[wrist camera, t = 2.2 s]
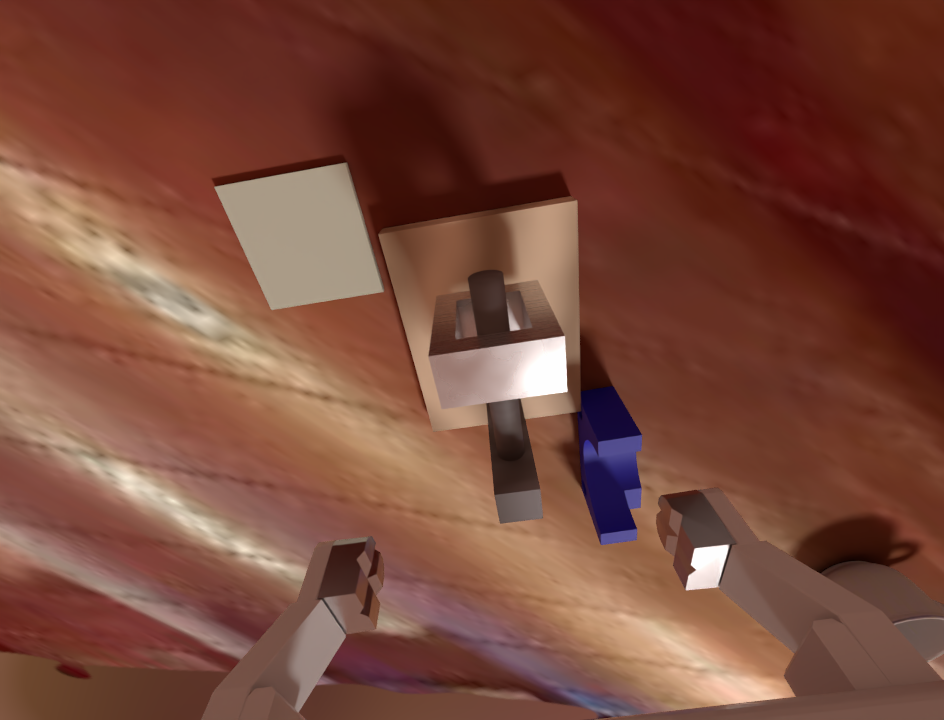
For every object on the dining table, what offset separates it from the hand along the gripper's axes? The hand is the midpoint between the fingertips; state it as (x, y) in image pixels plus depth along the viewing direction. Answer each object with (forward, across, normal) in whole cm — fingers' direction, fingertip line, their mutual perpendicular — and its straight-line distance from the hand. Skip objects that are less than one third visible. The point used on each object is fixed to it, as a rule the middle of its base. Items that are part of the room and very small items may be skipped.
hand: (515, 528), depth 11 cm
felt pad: (+19, +10, -5) cm, 22 cm away
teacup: (+19, -40, +44) cm, 62 cm away
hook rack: (+19, -1, +3) cm, 19 cm away
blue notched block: (+19, -9, +16) cm, 27 cm away
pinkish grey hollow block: (+15, 0, 0) cm, 15 cm away
